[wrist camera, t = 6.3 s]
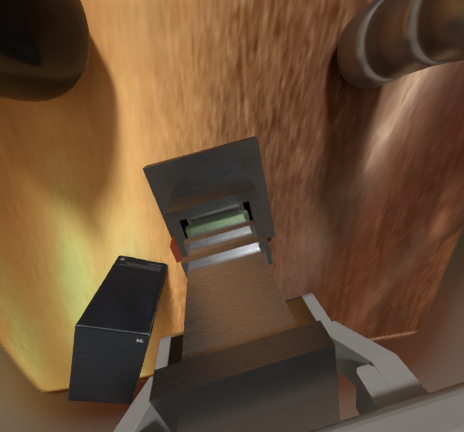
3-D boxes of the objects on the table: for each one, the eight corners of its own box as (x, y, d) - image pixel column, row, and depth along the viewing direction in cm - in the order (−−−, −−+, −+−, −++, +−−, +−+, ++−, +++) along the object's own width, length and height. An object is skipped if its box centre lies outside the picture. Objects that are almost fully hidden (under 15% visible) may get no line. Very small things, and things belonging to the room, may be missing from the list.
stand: (145, 165, 23) (115, 191, 15) (253, 136, 24) (285, 144, 15) (182, 256, 28) (176, 314, 20) (271, 230, 29) (302, 277, 20)
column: (183, 206, 19) (148, 400, 6) (240, 190, 19) (334, 344, 6) (200, 253, 21) (204, 477, 8) (252, 239, 22) (340, 434, 8)
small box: (115, 252, 27) (70, 324, 17) (169, 262, 29) (154, 333, 19) (105, 316, 31) (62, 404, 21) (153, 321, 32) (134, 406, 23)
